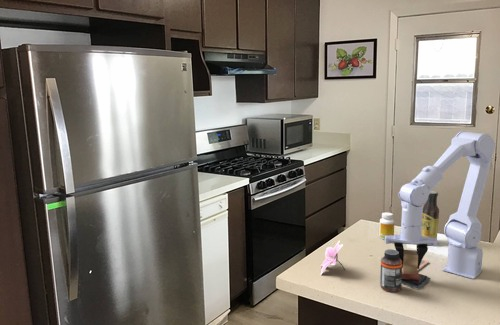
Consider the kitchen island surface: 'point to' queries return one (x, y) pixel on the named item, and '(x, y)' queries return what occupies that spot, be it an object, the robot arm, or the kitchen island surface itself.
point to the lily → (331, 256)
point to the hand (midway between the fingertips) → (409, 266)
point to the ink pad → (416, 282)
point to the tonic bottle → (430, 216)
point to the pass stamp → (410, 265)
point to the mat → (423, 264)
